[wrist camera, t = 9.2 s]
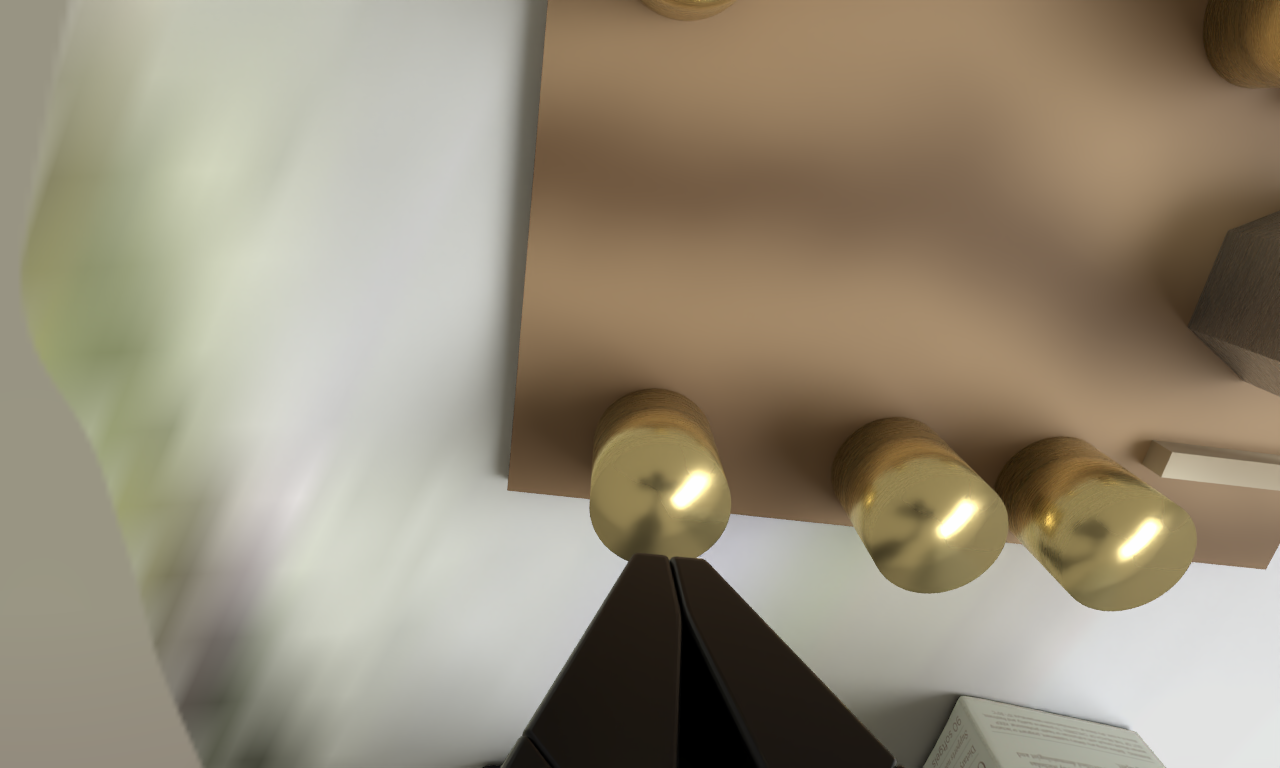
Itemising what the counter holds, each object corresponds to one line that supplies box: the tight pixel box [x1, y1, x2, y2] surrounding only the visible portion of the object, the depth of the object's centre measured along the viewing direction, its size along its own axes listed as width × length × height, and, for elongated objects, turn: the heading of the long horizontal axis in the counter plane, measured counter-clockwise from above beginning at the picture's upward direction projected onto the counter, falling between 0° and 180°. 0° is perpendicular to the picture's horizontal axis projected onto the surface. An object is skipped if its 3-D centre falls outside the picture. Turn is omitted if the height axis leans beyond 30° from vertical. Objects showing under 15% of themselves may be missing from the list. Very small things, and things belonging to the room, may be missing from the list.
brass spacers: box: [589, 0, 1280, 611], centre depth 17 cm, size 16×17×4 cm
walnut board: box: [507, 0, 1280, 569], centre depth 19 cm, size 17×24×1 cm
